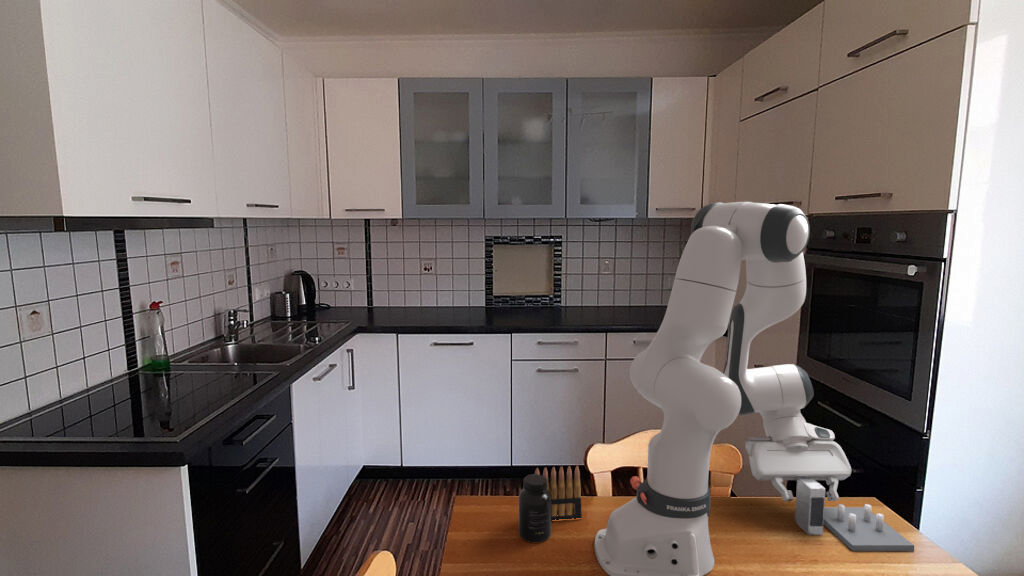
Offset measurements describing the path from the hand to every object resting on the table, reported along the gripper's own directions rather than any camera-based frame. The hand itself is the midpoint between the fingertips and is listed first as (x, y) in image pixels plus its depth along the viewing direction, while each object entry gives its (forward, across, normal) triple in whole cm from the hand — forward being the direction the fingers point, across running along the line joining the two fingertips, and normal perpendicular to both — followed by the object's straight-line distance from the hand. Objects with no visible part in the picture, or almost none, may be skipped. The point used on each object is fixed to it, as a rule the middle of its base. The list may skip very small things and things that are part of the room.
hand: (811, 500), depth 107 cm
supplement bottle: (+6, -58, +3) cm, 58 cm away
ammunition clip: (+2, -53, +7) cm, 53 cm away
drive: (+4, 0, +5) cm, 6 cm away
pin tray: (+5, +10, +4) cm, 12 cm away
